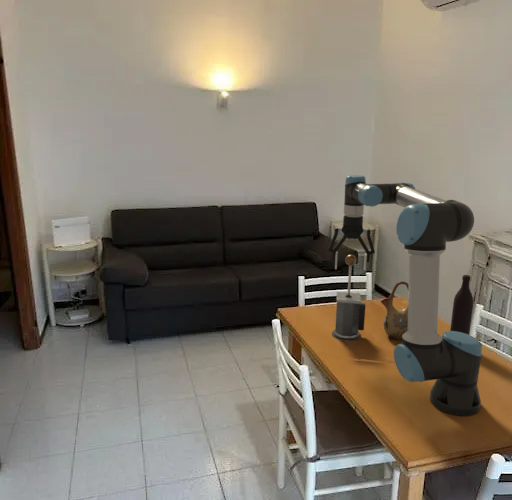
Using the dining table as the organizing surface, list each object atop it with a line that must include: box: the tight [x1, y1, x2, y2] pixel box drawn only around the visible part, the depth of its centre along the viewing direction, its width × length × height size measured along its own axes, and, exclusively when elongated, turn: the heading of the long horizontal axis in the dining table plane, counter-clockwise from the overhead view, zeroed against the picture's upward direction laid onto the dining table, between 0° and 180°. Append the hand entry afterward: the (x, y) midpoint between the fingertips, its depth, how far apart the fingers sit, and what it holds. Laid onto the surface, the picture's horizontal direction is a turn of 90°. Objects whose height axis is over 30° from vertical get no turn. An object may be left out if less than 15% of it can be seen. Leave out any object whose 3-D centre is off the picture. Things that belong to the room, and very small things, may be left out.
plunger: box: [344, 254, 357, 298], centre depth 200 cm, size 7×7×24 cm
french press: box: [333, 291, 366, 340], centre depth 203 cm, size 10×12×17 cm
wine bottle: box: [449, 274, 474, 335], centre depth 193 cm, size 7×7×30 cm
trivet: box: [331, 330, 362, 342], centre depth 206 cm, size 12×12×1 cm
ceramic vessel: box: [380, 281, 409, 341], centre depth 201 cm, size 16×9×25 cm, turn 90°
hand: (350, 269), depth 198 cm, fingers open, 11 cm apart
